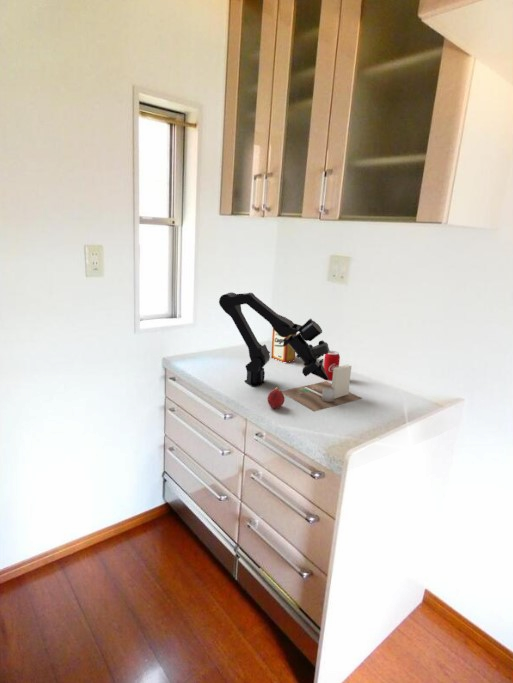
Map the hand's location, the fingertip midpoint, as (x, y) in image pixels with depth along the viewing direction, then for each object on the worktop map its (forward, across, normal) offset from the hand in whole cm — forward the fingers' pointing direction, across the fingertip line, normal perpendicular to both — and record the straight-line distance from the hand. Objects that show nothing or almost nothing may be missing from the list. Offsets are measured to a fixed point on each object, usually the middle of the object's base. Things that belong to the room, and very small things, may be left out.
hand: (327, 379), depth 157 cm
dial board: (+3, -3, +6) cm, 7 cm away
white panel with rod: (+4, -1, +4) cm, 5 cm away
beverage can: (+4, +17, +5) cm, 18 cm away
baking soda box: (-13, +36, +22) cm, 44 cm away
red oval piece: (-6, -20, +15) cm, 26 cm away
